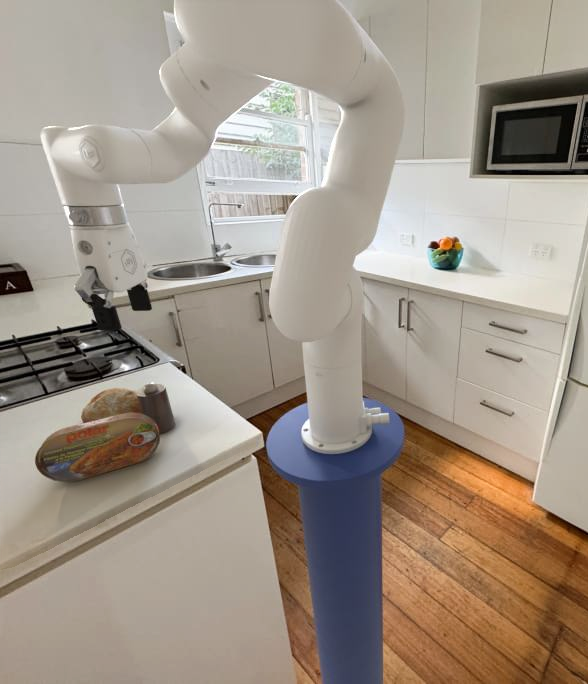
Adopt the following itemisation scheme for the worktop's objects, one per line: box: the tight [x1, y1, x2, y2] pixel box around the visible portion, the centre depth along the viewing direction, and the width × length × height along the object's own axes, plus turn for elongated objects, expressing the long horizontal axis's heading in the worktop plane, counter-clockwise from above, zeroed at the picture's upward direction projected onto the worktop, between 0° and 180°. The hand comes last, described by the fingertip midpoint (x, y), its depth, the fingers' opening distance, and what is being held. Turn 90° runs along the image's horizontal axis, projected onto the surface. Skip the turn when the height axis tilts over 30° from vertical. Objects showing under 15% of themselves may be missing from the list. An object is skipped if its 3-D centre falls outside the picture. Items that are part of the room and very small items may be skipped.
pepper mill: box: [136, 382, 176, 435], centre depth 69 cm, size 4×4×9 cm
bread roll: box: [80, 387, 142, 424], centre depth 71 cm, size 10×10×8 cm
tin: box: [34, 413, 161, 483], centre depth 59 cm, size 15×3×8 cm, turn 122°
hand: (127, 319), depth 67 cm, fingers open, 9 cm apart
